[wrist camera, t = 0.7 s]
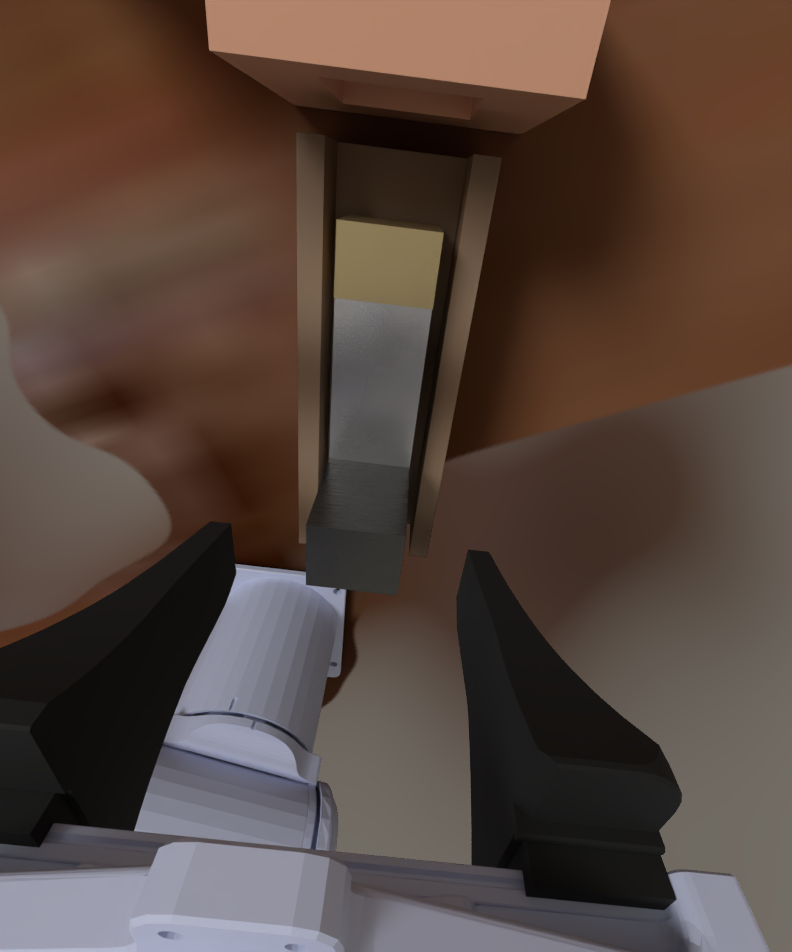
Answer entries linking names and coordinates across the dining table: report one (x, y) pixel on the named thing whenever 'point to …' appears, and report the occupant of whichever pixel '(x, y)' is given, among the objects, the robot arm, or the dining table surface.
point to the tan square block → (417, 56)
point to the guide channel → (465, 234)
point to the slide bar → (372, 401)
